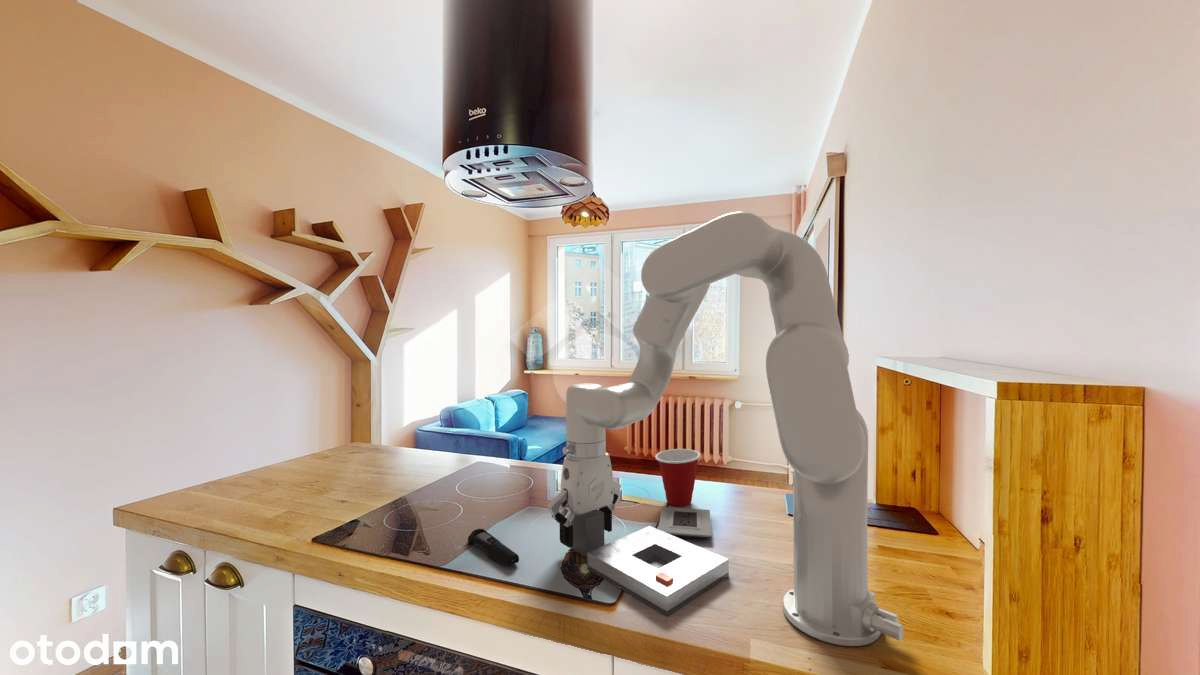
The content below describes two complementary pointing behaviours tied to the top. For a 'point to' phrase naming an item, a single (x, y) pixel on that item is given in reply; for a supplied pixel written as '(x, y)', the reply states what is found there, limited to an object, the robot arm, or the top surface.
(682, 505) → the plastic cup
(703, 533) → the electrical outlet
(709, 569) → the socket plate
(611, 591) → the top surface
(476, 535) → the electric trimmer
